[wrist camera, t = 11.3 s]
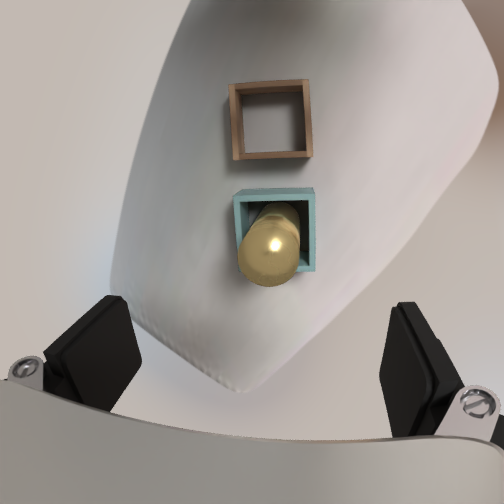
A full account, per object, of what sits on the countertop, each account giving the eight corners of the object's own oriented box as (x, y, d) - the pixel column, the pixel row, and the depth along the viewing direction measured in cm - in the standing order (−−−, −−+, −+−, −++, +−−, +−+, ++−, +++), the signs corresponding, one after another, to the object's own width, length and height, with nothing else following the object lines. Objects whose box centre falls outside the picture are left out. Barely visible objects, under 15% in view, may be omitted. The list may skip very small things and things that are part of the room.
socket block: (235, 90, 26) (228, 84, 23) (307, 86, 25) (308, 79, 22) (239, 159, 28) (233, 160, 26) (311, 156, 27) (313, 157, 24)
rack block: (241, 189, 29) (233, 195, 26) (313, 187, 28) (314, 193, 24) (246, 256, 31) (238, 271, 28) (313, 255, 30) (315, 271, 26)
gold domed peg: (256, 202, 29) (235, 228, 20) (299, 201, 29) (298, 227, 19) (259, 243, 31) (239, 286, 21) (300, 242, 30) (299, 286, 21)
